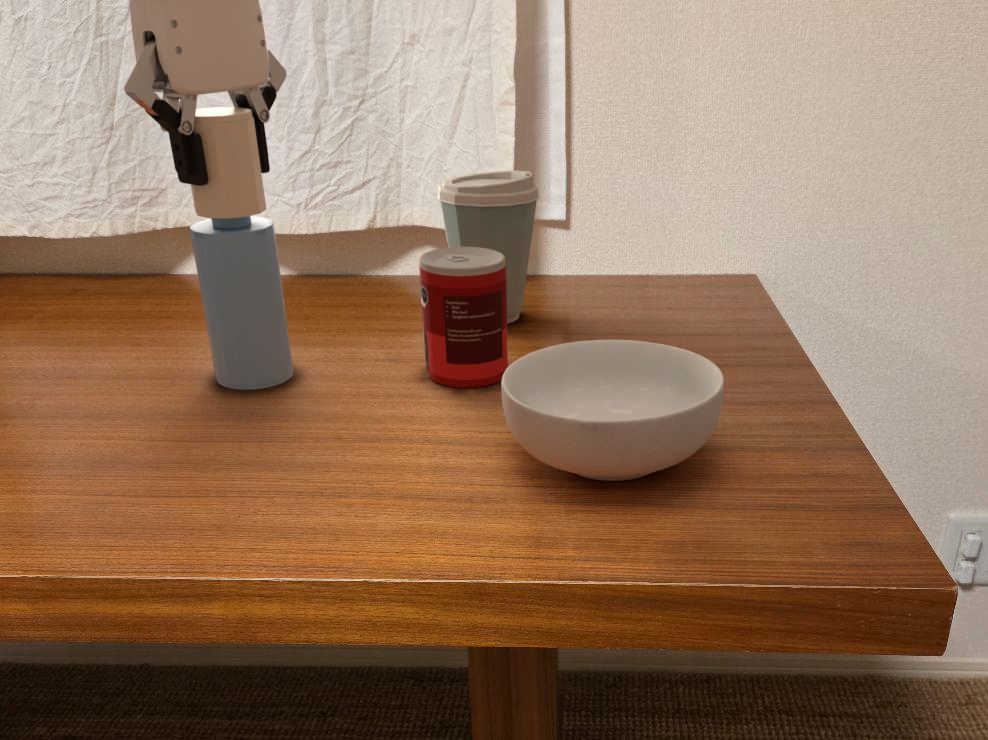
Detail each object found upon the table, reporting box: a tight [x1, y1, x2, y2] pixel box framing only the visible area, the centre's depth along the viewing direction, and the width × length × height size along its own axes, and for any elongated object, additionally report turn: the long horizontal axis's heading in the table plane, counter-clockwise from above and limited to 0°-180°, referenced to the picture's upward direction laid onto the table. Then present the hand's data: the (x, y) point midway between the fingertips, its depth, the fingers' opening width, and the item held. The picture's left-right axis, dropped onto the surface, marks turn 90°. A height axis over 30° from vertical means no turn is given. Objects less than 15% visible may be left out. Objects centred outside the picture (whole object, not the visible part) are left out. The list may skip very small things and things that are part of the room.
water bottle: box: [189, 215, 294, 391], centre depth 91 cm, size 7×7×18 cm
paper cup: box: [190, 106, 267, 219], centre depth 85 cm, size 6×6×8 cm
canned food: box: [418, 247, 509, 389], centre depth 93 cm, size 8×8×11 cm
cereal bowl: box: [500, 339, 725, 482], centre depth 77 cm, size 17×17×7 cm
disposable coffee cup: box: [436, 170, 540, 324], centre depth 107 cm, size 11×11×15 cm
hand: (225, 175), depth 86 cm, fingers closed on paper cup, 5 cm apart
